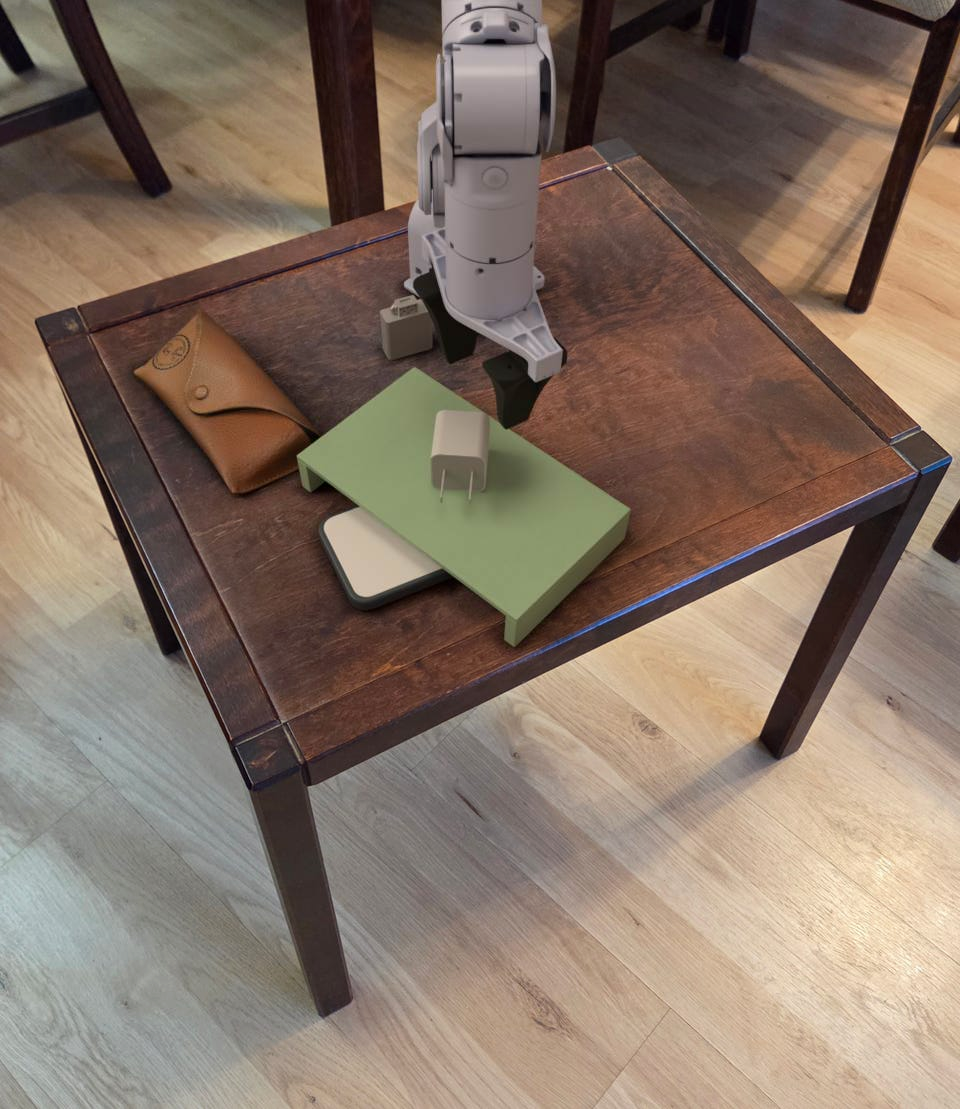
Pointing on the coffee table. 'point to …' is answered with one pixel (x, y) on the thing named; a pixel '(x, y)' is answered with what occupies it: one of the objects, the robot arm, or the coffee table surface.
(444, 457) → the usb wall charger
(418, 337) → the lighter
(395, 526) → the riser stand
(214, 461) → the sunglasses case
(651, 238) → the coffee table surface
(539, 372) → the robot arm
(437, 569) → the phone case
